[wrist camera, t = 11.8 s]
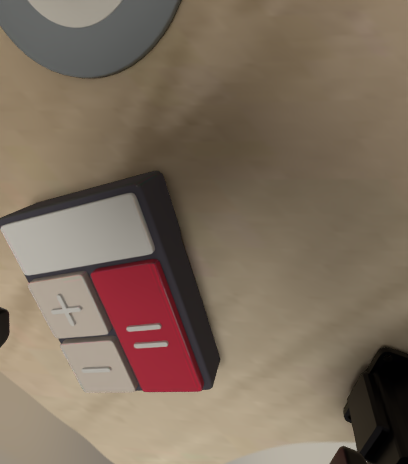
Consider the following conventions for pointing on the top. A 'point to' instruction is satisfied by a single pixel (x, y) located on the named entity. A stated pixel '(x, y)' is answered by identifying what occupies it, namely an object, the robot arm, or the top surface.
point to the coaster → (86, 32)
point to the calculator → (117, 287)
